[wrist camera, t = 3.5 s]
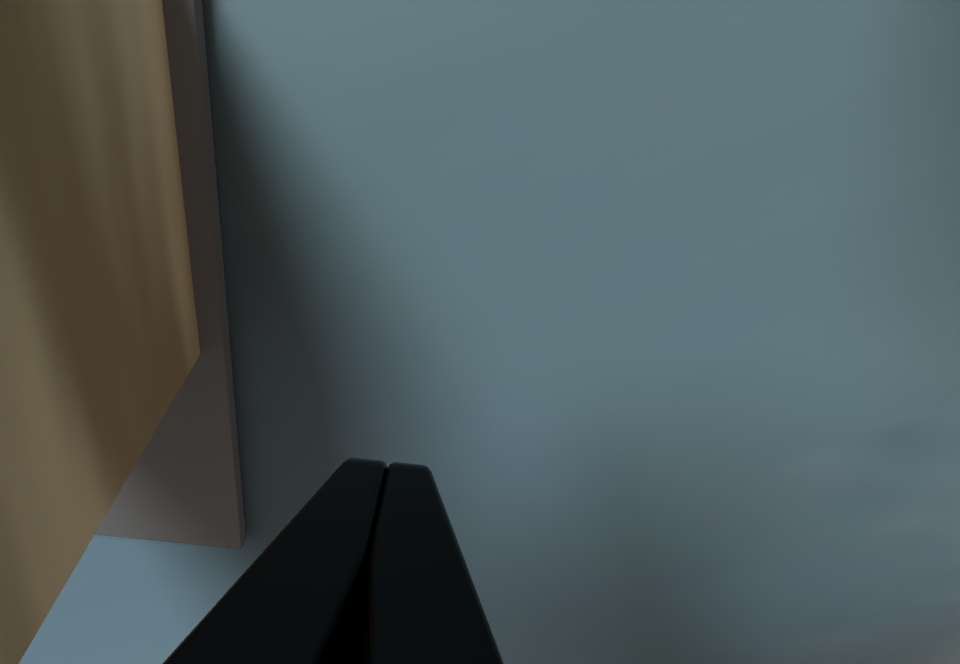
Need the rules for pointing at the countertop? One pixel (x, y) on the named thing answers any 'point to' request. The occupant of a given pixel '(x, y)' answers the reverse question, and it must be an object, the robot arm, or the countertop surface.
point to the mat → (209, 385)
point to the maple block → (82, 281)
